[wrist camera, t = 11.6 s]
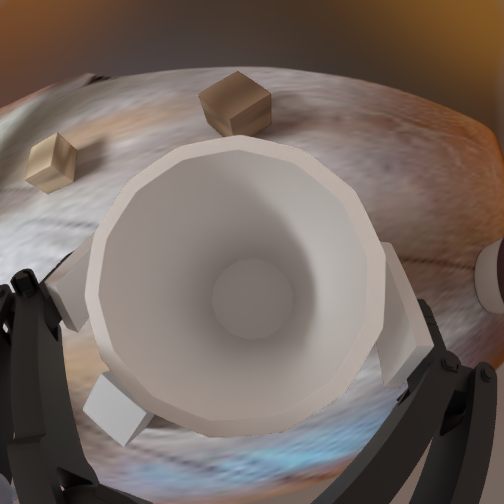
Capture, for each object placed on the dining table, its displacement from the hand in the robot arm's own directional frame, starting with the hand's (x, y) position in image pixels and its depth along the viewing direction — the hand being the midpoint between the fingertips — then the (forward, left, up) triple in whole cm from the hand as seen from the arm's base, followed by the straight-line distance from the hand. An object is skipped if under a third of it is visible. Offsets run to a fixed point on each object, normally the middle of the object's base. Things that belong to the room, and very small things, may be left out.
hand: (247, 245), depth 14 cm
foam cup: (+2, -1, -7) cm, 8 cm away
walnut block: (-14, +4, -8) cm, 17 cm away
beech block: (-19, -17, -8) cm, 27 cm away
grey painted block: (+7, -14, -8) cm, 18 cm away
